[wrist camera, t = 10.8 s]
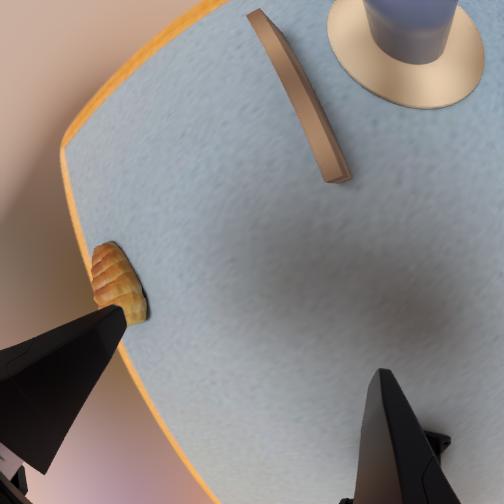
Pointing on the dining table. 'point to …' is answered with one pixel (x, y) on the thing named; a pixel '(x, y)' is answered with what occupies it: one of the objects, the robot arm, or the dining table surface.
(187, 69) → the dining table surface
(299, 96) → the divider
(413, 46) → the soy bottle
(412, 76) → the disc
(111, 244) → the pastry
